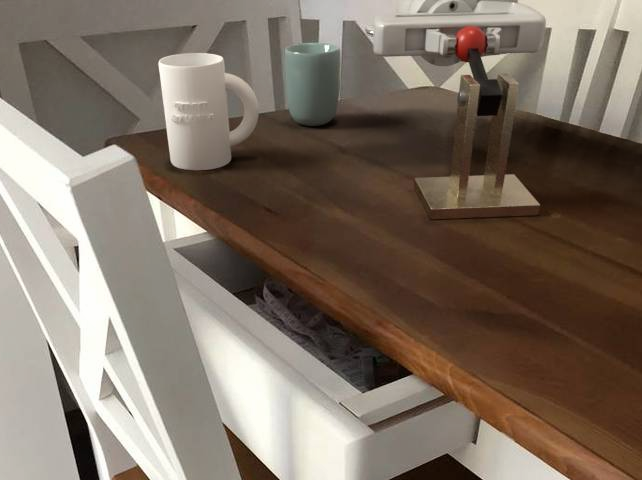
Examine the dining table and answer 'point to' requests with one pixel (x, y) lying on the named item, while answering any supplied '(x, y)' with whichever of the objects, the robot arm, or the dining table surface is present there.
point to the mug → (202, 110)
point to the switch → (478, 69)
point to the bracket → (494, 186)
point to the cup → (312, 82)
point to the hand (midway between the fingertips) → (471, 46)
